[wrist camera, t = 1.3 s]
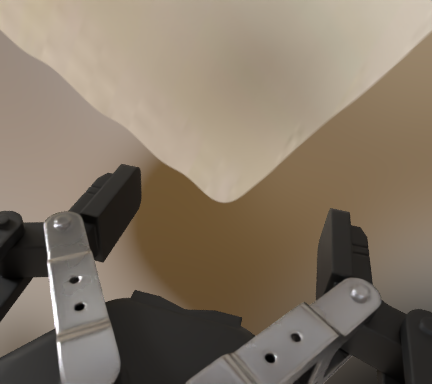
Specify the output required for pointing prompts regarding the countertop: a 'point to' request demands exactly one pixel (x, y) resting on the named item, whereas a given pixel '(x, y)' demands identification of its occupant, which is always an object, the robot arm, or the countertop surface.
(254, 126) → the countertop surface
